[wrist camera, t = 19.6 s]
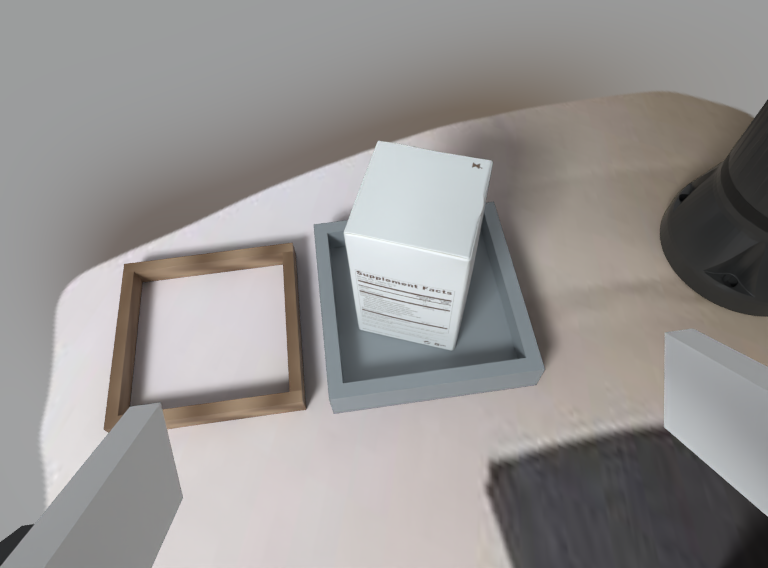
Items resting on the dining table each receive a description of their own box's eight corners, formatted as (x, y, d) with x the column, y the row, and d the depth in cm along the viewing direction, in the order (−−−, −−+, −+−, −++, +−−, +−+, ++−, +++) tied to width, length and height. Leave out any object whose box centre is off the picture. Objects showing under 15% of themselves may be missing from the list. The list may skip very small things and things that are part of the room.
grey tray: (489, 223, 57) (493, 201, 54) (536, 385, 48) (544, 369, 45) (318, 245, 56) (313, 224, 53) (333, 413, 47) (329, 399, 44)
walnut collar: (295, 254, 55) (292, 242, 54) (306, 409, 47) (302, 401, 46) (132, 275, 55) (124, 264, 53) (114, 436, 47) (103, 429, 45)
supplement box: (382, 249, 54) (376, 135, 41) (474, 268, 53) (497, 156, 40) (355, 330, 50) (339, 231, 37) (454, 354, 48) (473, 259, 36)
